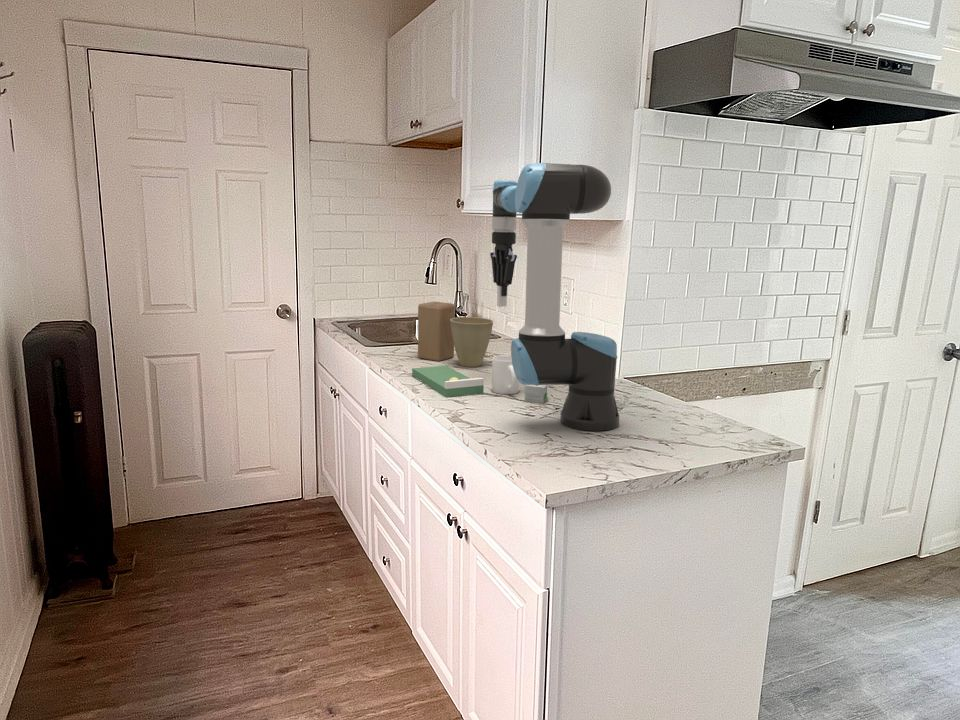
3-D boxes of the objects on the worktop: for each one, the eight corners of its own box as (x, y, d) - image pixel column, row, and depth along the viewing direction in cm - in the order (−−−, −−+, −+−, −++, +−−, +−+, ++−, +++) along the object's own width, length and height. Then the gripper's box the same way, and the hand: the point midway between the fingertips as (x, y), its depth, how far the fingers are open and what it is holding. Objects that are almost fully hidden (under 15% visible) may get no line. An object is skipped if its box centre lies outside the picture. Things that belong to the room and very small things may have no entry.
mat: (483, 393, 207) (483, 378, 206) (446, 397, 202) (446, 382, 201) (445, 372, 231) (446, 359, 230) (412, 375, 226) (412, 362, 225)
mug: (527, 397, 204) (528, 363, 202) (500, 398, 201) (501, 364, 199) (513, 387, 215) (515, 354, 213) (488, 388, 213) (489, 355, 210)
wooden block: (455, 357, 256) (455, 303, 251) (439, 362, 247) (439, 306, 243) (433, 353, 261) (433, 300, 257) (416, 358, 253) (417, 303, 248)
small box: (543, 404, 198) (544, 387, 197) (523, 401, 199) (524, 385, 198) (547, 398, 203) (548, 382, 202) (528, 397, 205) (529, 380, 204)
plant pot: (468, 371, 234) (469, 325, 230) (441, 363, 245) (441, 319, 241) (500, 366, 243) (502, 321, 240) (473, 358, 254) (474, 315, 251)
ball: (460, 390, 211) (462, 382, 209) (449, 392, 210) (451, 383, 208) (456, 383, 214) (458, 374, 212) (445, 384, 212) (447, 375, 210)
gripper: (525, 232, 214) (522, 308, 219) (503, 230, 225) (501, 303, 230) (504, 231, 210) (501, 309, 215) (483, 230, 221) (481, 304, 226)
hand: (501, 306), depth 222 cm, fingers closed
